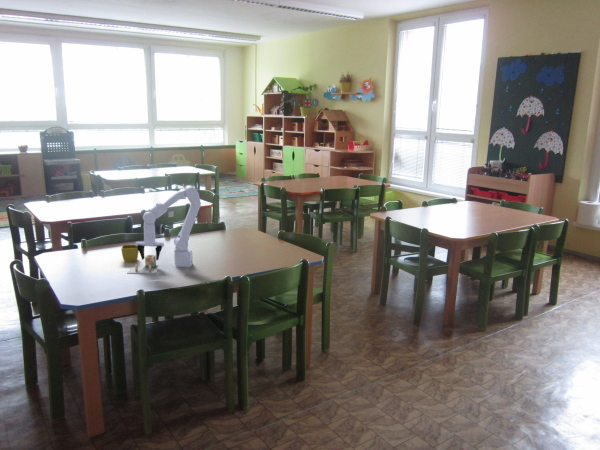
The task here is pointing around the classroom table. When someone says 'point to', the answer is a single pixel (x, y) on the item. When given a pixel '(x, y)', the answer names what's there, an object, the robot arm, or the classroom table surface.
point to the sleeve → (150, 261)
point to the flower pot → (129, 253)
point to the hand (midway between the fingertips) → (150, 259)
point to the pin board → (142, 270)
